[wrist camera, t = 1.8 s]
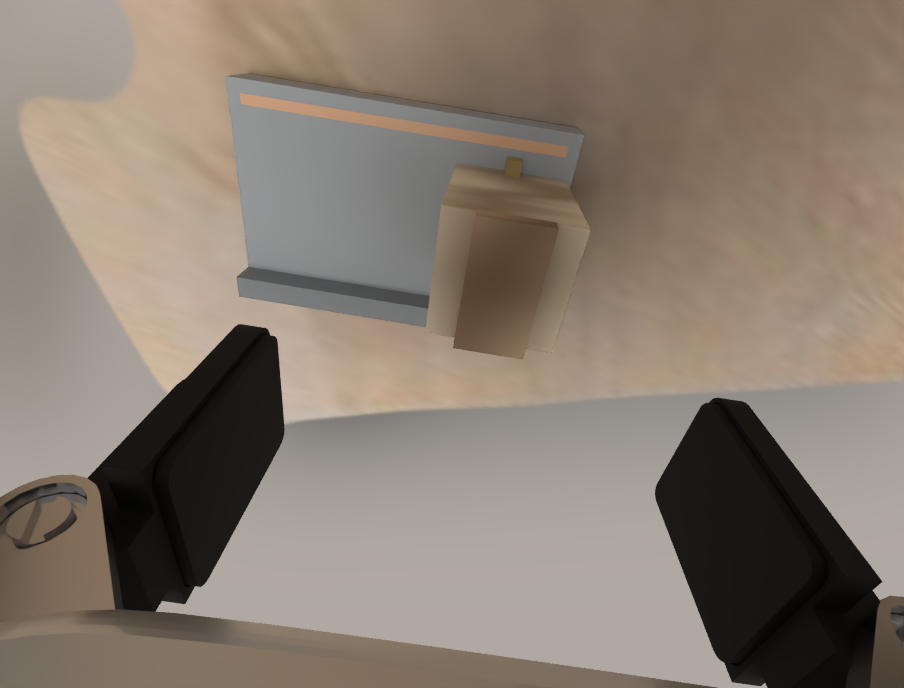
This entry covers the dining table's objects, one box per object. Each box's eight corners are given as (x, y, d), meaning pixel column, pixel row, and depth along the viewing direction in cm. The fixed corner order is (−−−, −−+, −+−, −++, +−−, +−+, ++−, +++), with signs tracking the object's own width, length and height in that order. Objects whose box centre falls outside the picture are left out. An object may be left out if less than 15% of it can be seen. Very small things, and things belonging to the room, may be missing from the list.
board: (577, 127, 19) (589, 140, 16) (528, 311, 24) (532, 344, 21) (249, 73, 19) (208, 77, 16) (267, 268, 24) (239, 296, 21)
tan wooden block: (569, 165, 18) (601, 216, 13) (538, 281, 21) (553, 364, 15) (458, 146, 18) (441, 189, 13) (442, 265, 21) (422, 342, 15)
